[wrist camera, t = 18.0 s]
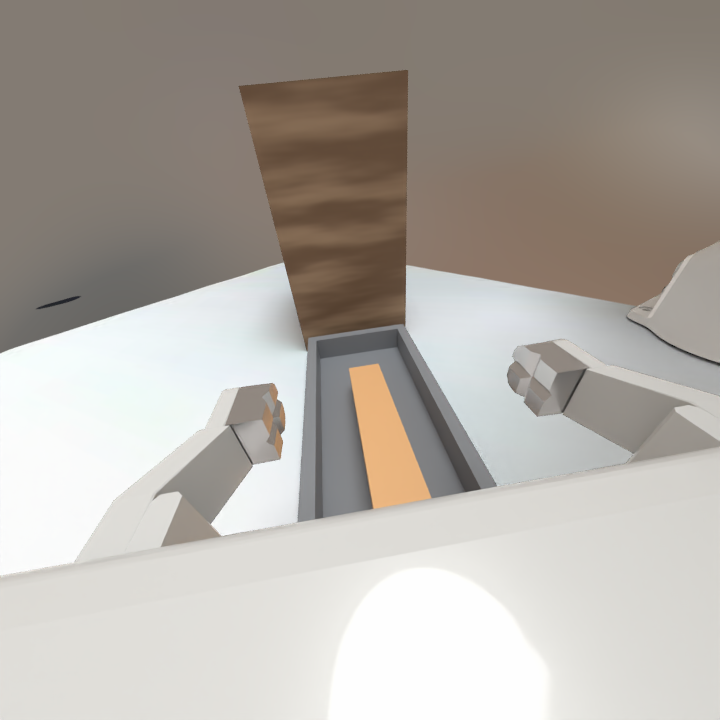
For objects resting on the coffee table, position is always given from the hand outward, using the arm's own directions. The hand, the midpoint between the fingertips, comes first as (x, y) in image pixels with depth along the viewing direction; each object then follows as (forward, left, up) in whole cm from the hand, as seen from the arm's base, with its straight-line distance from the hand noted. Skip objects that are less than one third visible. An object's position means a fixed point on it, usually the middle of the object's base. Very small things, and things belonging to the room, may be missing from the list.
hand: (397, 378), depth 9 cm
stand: (-17, -27, -14) cm, 35 cm away
